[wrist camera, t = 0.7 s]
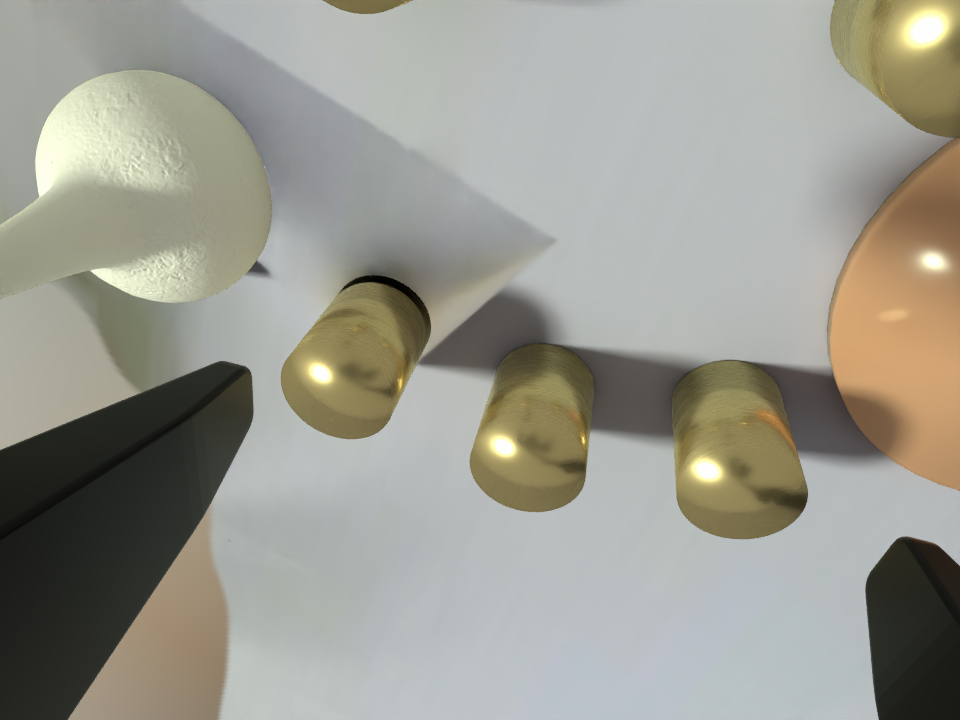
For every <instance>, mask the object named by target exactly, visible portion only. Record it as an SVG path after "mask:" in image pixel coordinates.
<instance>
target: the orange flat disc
mask: <svg viewBox="0 0 960 720" xmlns="http://www.w3.org/2000/svg"><path fill="white" fill-rule="evenodd" d="M827 343H828V356H829V360H830V364H831V369H832V373H833V376H834V379H835V381H836V384H837V386H838V389H839V391H840V394H841V396H842V398H843V401H844V403H845V405H846V408H847V410H848V412H849V414H850V415H851V417H852V418H853V420H854V421H855V423H856V424H857V426H858V427H859V429H860V430H861V432H862V433H863V434H864V435H865V436H866V437H867V438H868V439H869V440H870V441H871V442H872V443H873V444H874V445H875V447H876V448H878V449H879V450H880V451H882V452H883V453H884V454H885V455H887V456H888V457H889V458H890V459H892V460H893V461H894V462H896V463H898V464H899V465H901V466H903V467H904V468H906V469H908V470H910V471H911V472H913V473H915V474H917V475H919V476H921V477H924V478H926V479H928V480H931V481H933V482H935V483H938V484H940V485H943V486H947V487H950V488H953V489H957V490H960V138H955V139H953V140H952V141H950V142H949V143H947V144H946V145H944V146H943V147H942V148H941V149H939V150H938V151H937V152H936V153H935V154H933V155H932V156H931V157H930V158H929V159H927V160H926V161H925V162H924V163H923V164H921V165H920V166H919V167H918V168H917V169H916V170H914V171H913V172H912V173H911V174H910V175H909V176H908V177H907V178H906V179H905V180H904V181H903V182H902V183H901V184H900V185H899V186H898V187H897V189H896V190H895V191H894V192H893V193H892V194H891V195H890V196H889V197H888V198H887V199H886V200H885V201H884V203H883V204H882V205H881V207H880V208H879V209H878V210H877V212H876V213H875V214H874V215H873V217H872V218H871V219H870V221H869V222H868V223H867V224H866V226H865V227H864V229H863V231H862V232H861V234H860V236H859V237H858V239H857V240H856V242H855V244H854V245H853V247H852V249H851V250H850V252H849V254H848V256H847V258H846V261H845V263H844V265H843V267H842V270H841V272H840V274H839V276H838V279H837V282H836V285H835V289H834V292H833V296H832V299H831V303H830V308H829V317H828V325H827Z"/></svg>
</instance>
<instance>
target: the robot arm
mask: <svg viewBox="0 0 960 720" xmlns="http://www.w3.org/2000/svg"><path fill="white" fill-rule="evenodd" d="M252 419H253V390H252V375H251V372H250V370H249V369H248V368H247V367H245V366H242V365H238V364H234V363H230V362H226V361H219V362H216V363H213V364H211V365H208V366H206V367H204V368H201V369H199V370H196V371H194V372H191V373H189V374H186V375H184V376H181V377H179V378H176V379H174V380H171V381H169V382H167V383H164V384H162V385H159V386H157V387H154V388H152V389H149V390H147V391H144V392H142V393H139V394H137V395H135V396H132V397H130V398H127V399H125V400H122V401H120V402H117V403H115V404H112V405H110V406H107V407H105V408H103V409H100V410H98V411H95V412H93V413H91V414H88V415H85V416H83V417H80V418H78V419H75V420H73V421H71V422H68V423H66V424H63V425H61V426H58V427H56V428H53V429H51V430H48V431H46V432H43V433H41V434H38V435H36V436H34V437H31V438H29V439H26V440H24V441H21V442H19V443H16V444H14V445H11V446H9V447H7V448H4V449H2V450H0V720H68V718H69V717H70V715H71V714H72V712H73V711H74V709H75V708H76V706H77V705H78V703H79V702H80V700H81V699H82V698H83V696H84V694H85V693H86V691H87V690H88V689H89V687H90V686H91V684H92V683H93V681H94V680H95V678H96V677H97V675H98V673H99V672H100V671H101V669H102V667H103V666H104V664H105V663H106V662H107V660H108V659H109V657H110V656H111V654H112V653H113V651H114V650H115V648H116V647H117V645H118V644H119V642H120V641H121V639H122V638H123V636H124V635H125V633H126V632H127V630H128V629H129V627H130V626H131V624H132V623H133V621H134V620H135V618H136V617H137V615H138V614H139V612H140V611H141V610H142V608H143V606H144V605H145V604H146V602H147V600H148V599H149V598H150V596H151V595H152V593H153V592H154V590H155V589H156V587H157V586H158V584H159V583H160V581H161V580H162V578H163V577H164V575H165V574H166V572H167V571H168V569H169V568H170V566H171V565H172V563H173V562H174V560H175V559H176V557H177V556H178V554H179V553H180V551H181V550H182V548H183V547H184V545H185V544H186V542H187V541H188V539H189V538H190V536H191V535H192V534H193V532H194V530H195V529H196V527H197V525H198V524H199V522H200V521H201V519H202V518H203V516H204V514H205V513H206V511H207V509H208V507H209V505H210V504H211V502H212V500H213V498H214V496H215V494H216V492H217V490H218V488H219V486H220V484H221V482H222V481H223V479H224V477H225V475H226V473H227V471H228V469H229V467H230V465H231V463H232V461H233V459H234V457H235V455H236V453H237V451H238V450H239V448H240V446H241V444H242V442H243V440H244V438H245V436H246V434H247V432H248V430H249V428H250V426H251V423H252ZM865 590H866V604H867V616H868V627H869V639H870V651H871V662H872V674H873V685H874V693H875V701H876V707H877V712H878V718H879V720H960V566H959V565H958V564H957V563H956V562H955V561H954V560H953V559H952V558H951V557H950V556H949V555H948V554H947V553H946V552H945V551H944V550H942V549H941V548H940V547H939V546H938V545H936V544H934V543H931V542H927V541H923V540H920V539H916V538H912V537H900V538H898V539H897V540H896V541H895V542H894V543H893V544H892V545H891V546H890V548H889V549H888V550H887V552H886V553H885V554H884V555H883V557H882V558H881V559H880V561H879V562H878V563H877V564H876V566H875V567H874V568H873V569H872V571H871V572H870V574H869V576H868V578H867V582H866V589H865Z"/></svg>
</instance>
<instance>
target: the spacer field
mask: <svg viewBox="0 0 960 720" xmlns="http://www.w3.org/2000/svg"><path fill="white" fill-rule="evenodd" d="M324 1H325V2H327V3H329V4H330V5H332V6H334V7H337V8H339V9H341V10H345V11H348V12H352V13H359V14H374V13H379V12H384V11H387V10H390V9H393V8H395V7H397V6H400V5H402V4H405V3H407V2H410V1H412V0H324ZM830 36H831V42H832V47H833V50H834V53H835V55H836V57H837V59H838V61H839V63H840V64H841V65H842V67H843V68H844V69H845V70H846V71H847V72H848V73H849V74H850V75H851V76H852V77H853V78H855V79H856V80H857V81H858V82H859V83H861V84H862V85H863V86H864V87H866V88H867V89H868V90H869V91H870V92H872V93H873V94H874V95H875V96H877V97H878V98H879V99H880V100H881V101H883V102H884V103H885V104H886V105H888V106H889V107H890V108H891V109H892V110H894V111H895V112H896V113H897V114H899V115H900V116H901V117H902V118H904V119H905V120H906V121H907V122H909V123H910V124H912V125H913V126H915V127H916V128H918V129H920V130H923V131H925V132H927V133H931V134H934V135H938V136H944V137H956V138H960V0H835V3H834V6H833V10H832V15H831V23H830ZM430 333H431V321H430V316H429V313H428V311H427V308H426V306H425V305H424V303H423V301H422V300H421V299H420V297H419V296H418V295H417V294H416V293H415V292H414V291H413V290H412V289H411V288H409V287H408V286H406V285H405V284H403V283H401V282H400V281H398V280H395V279H393V278H390V277H386V276H381V275H367V276H362V277H359V278H356V279H354V280H352V281H350V282H349V283H348V284H346V285H345V286H344V287H343V288H342V290H341V291H340V292H339V293H338V295H337V296H336V297H335V298H334V300H333V301H332V302H331V304H330V305H329V306H328V307H327V309H326V310H325V311H324V312H323V314H322V315H321V316H320V318H319V319H318V320H317V321H316V323H315V324H314V325H313V326H312V328H311V329H310V330H309V332H308V333H307V334H306V335H305V337H304V338H303V339H302V340H301V342H300V343H299V344H298V346H297V347H296V348H295V349H294V351H293V352H292V353H291V354H290V356H289V357H288V358H287V360H286V361H285V363H284V365H283V368H282V372H281V386H282V390H283V393H284V396H285V398H286V400H287V402H288V404H289V405H290V407H291V408H292V409H293V411H294V412H295V413H296V414H297V415H298V416H299V417H300V418H301V419H302V420H303V421H304V422H306V423H307V424H308V425H310V426H311V427H313V428H314V429H316V430H318V431H320V432H322V433H325V434H327V435H330V436H333V437H338V438H343V439H360V438H365V437H369V436H371V435H374V434H375V433H377V432H379V431H380V430H381V429H383V428H384V426H385V425H386V424H387V423H388V421H389V419H390V417H391V415H392V413H393V411H394V409H395V407H396V405H397V403H398V401H399V399H400V397H401V395H402V393H403V391H404V389H405V387H406V385H407V383H408V381H409V379H410V377H411V375H412V373H413V371H414V369H415V367H416V365H417V363H418V361H419V359H420V357H421V355H422V353H423V351H424V349H425V346H426V344H427V342H428V340H429V337H430ZM593 397H594V381H593V377H592V374H591V372H590V370H589V369H588V367H587V365H586V364H585V363H584V362H583V361H582V360H581V359H580V358H579V357H578V356H576V355H575V354H574V353H572V352H570V351H569V350H566V349H564V348H562V347H559V346H555V345H550V344H531V345H526V346H523V347H520V348H518V349H516V350H514V351H512V352H511V353H509V354H508V355H507V356H506V357H505V358H504V359H503V360H502V362H501V363H500V365H499V367H498V369H497V372H496V375H495V379H494V382H493V385H492V388H491V391H490V394H489V398H488V401H487V404H486V407H485V410H484V414H483V417H482V420H481V423H480V426H479V429H478V433H477V436H476V439H475V442H474V445H473V449H472V452H471V455H470V468H471V473H472V475H473V478H474V479H475V481H476V483H477V484H478V486H479V487H480V488H481V489H482V490H483V491H484V492H485V493H486V494H487V495H488V496H489V497H491V498H492V499H494V500H495V501H497V502H499V503H501V504H502V505H505V506H507V507H510V508H513V509H516V510H521V511H528V512H544V511H550V510H554V509H558V508H560V507H563V506H565V505H566V504H568V503H570V502H571V501H572V500H574V499H575V498H576V497H577V496H578V494H579V493H580V491H581V490H582V488H583V486H584V482H585V477H586V467H587V457H588V447H589V437H590V427H591V417H592V407H593ZM672 423H673V440H674V458H675V475H676V493H677V501H678V505H679V507H680V510H681V511H682V513H683V515H684V516H685V517H686V518H687V519H688V520H689V521H690V522H691V523H692V524H694V525H695V526H696V527H698V528H700V529H701V530H703V531H705V532H708V533H710V534H713V535H716V536H720V537H724V538H731V539H753V538H759V537H764V536H768V535H771V534H774V533H776V532H778V531H780V530H782V529H784V528H786V527H788V526H789V525H790V524H792V523H793V522H794V521H795V520H796V519H797V518H798V517H799V516H800V514H801V513H802V512H803V510H804V508H805V506H806V503H807V498H808V489H807V485H806V481H805V478H804V474H803V471H802V467H801V463H800V460H799V456H798V453H797V449H796V446H795V442H794V439H793V435H792V432H791V428H790V425H789V421H788V417H787V414H786V410H785V407H784V403H783V400H782V396H781V393H780V389H779V387H778V385H777V383H776V382H775V380H774V379H773V378H772V377H771V376H770V375H769V374H768V373H767V372H765V371H764V370H762V369H761V368H759V367H757V366H755V365H752V364H749V363H746V362H741V361H731V360H729V361H717V362H712V363H708V364H705V365H702V366H700V367H698V368H696V369H694V370H693V371H691V372H690V373H688V374H687V375H686V376H685V377H684V378H683V379H682V380H681V381H680V382H679V384H678V385H677V386H676V388H675V390H674V393H673V396H672Z"/></svg>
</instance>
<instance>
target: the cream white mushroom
mask: <svg viewBox="0 0 960 720" xmlns="http://www.w3.org/2000/svg"><path fill="white" fill-rule="evenodd" d="M35 163H36V177H37V185H38V193H39V195H40V197H39V198H38V199H37V200H36V201H34V202H33V203H32V204H30V205H29V206H28V207H26V208H25V209H24V210H22V211H21V212H19V213H18V214H16V215H15V216H13V217H12V218H10V219H8V220H7V221H6V222H4V223H3V224H1V225H0V299H1V298H4V297H7V296H10V295H14V294H17V293H19V292H22V291H25V290H28V289H31V288H34V287H37V286H39V285H42V284H45V283H48V282H51V281H54V280H57V279H60V278H63V277H67V276H70V275H73V274H79V273H81V272H84V271H91V272H93V273H94V274H95V275H97V276H98V277H99V278H101V279H102V280H104V281H105V282H108V283H109V284H111V285H113V286H114V287H117V288H119V289H121V290H122V291H125V292H127V293H129V294H131V295H134V296H137V297H141V298H145V299H149V300H153V301H160V302H173V303H177V302H187V301H193V300H199V299H203V298H207V297H209V296H212V295H214V294H218V293H219V292H221V291H223V290H226V289H228V288H229V287H230V286H232V285H233V284H235V283H236V282H237V281H238V280H240V279H241V278H242V277H243V276H244V275H245V274H246V273H247V272H248V271H249V270H250V269H251V268H252V266H253V265H254V263H255V262H256V261H257V259H258V257H259V256H260V254H261V253H262V250H263V249H264V247H265V243H266V241H267V237H268V234H269V230H270V226H271V218H272V202H271V201H272V200H271V190H270V186H269V182H268V178H267V174H266V171H265V168H264V165H263V162H262V160H261V158H260V155H259V153H258V151H257V149H256V147H255V145H254V143H253V141H252V140H251V138H250V136H249V135H248V134H247V132H246V131H245V129H244V128H243V127H242V125H241V124H240V123H239V122H238V120H237V119H236V118H235V117H234V116H233V115H232V114H231V113H230V111H229V110H228V109H227V108H225V107H224V106H223V105H222V104H221V103H220V102H219V101H217V100H216V99H215V98H214V97H212V96H211V95H210V94H208V93H207V92H205V91H204V90H202V89H201V88H199V87H198V86H196V85H194V84H192V83H190V82H187V81H185V80H183V79H181V78H178V77H176V76H172V75H169V74H165V73H160V72H156V71H148V70H145V71H143V70H127V71H119V72H114V73H109V74H104V75H101V76H99V77H96V78H93V79H91V80H88V81H87V82H85V83H83V84H82V85H80V86H78V87H76V88H75V89H74V90H72V91H71V92H70V93H69V94H68V95H67V96H65V97H64V98H63V99H62V100H61V101H60V102H59V103H58V105H57V106H56V107H55V108H54V110H53V111H52V113H51V114H50V115H49V117H48V119H47V121H46V123H45V124H44V127H43V129H42V133H41V136H40V139H39V143H38V147H37V152H36V160H35Z"/></svg>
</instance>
